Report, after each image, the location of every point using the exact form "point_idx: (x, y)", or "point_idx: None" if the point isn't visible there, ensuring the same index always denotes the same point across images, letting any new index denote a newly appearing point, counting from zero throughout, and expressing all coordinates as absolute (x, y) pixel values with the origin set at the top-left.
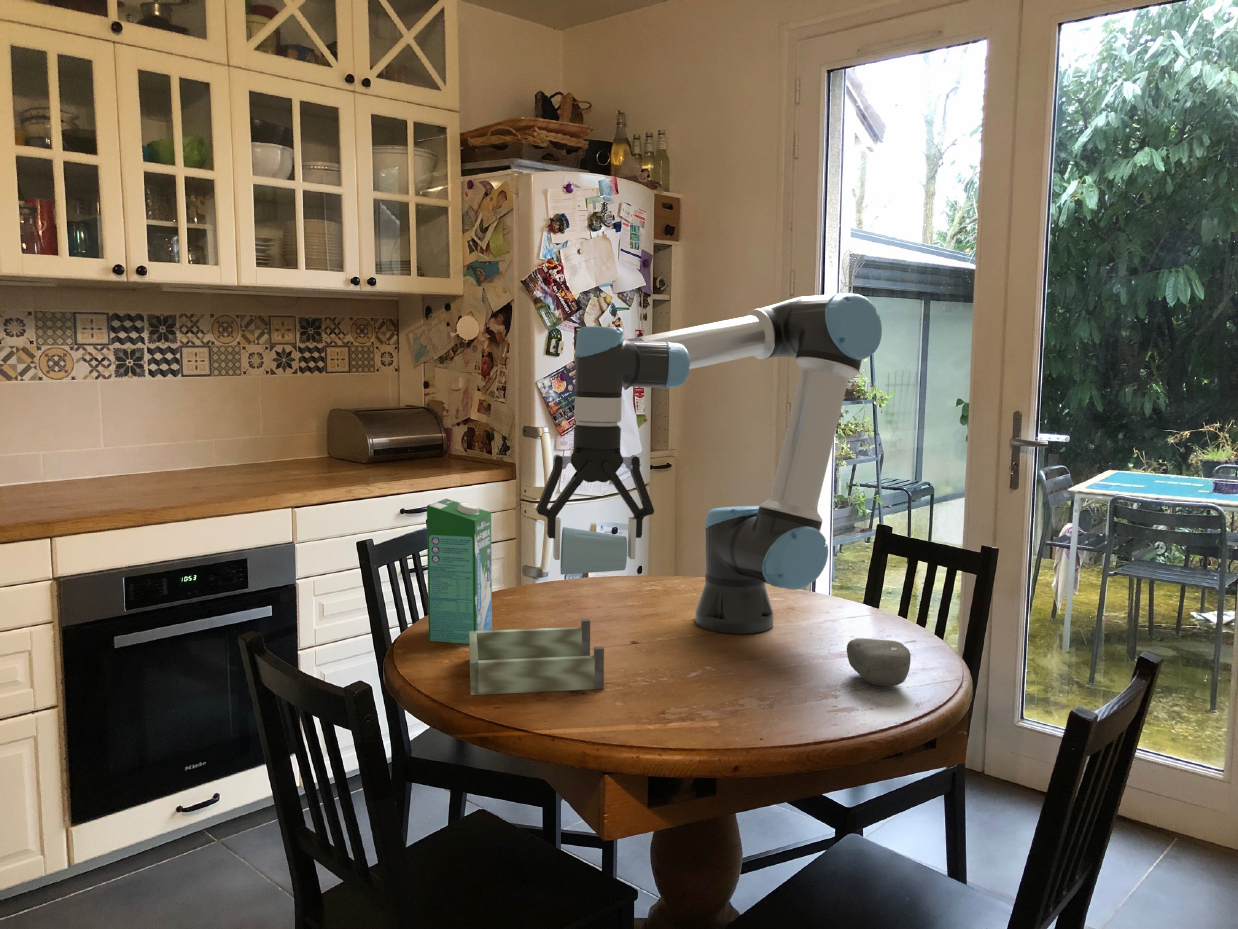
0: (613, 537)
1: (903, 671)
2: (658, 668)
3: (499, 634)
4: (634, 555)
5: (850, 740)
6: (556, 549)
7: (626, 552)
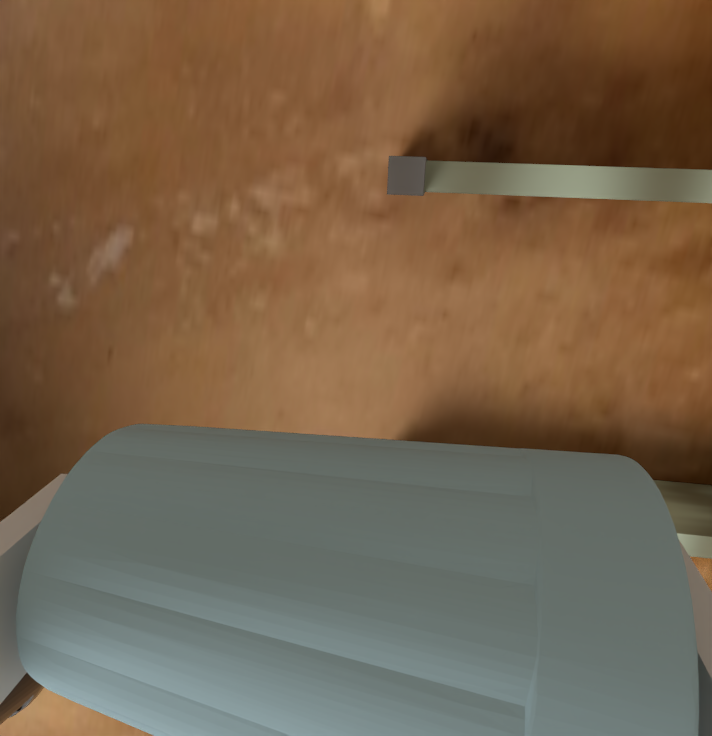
0: (127, 622)
1: None
2: (204, 318)
3: (694, 530)
4: (48, 489)
5: None
6: (703, 599)
7: (85, 457)
